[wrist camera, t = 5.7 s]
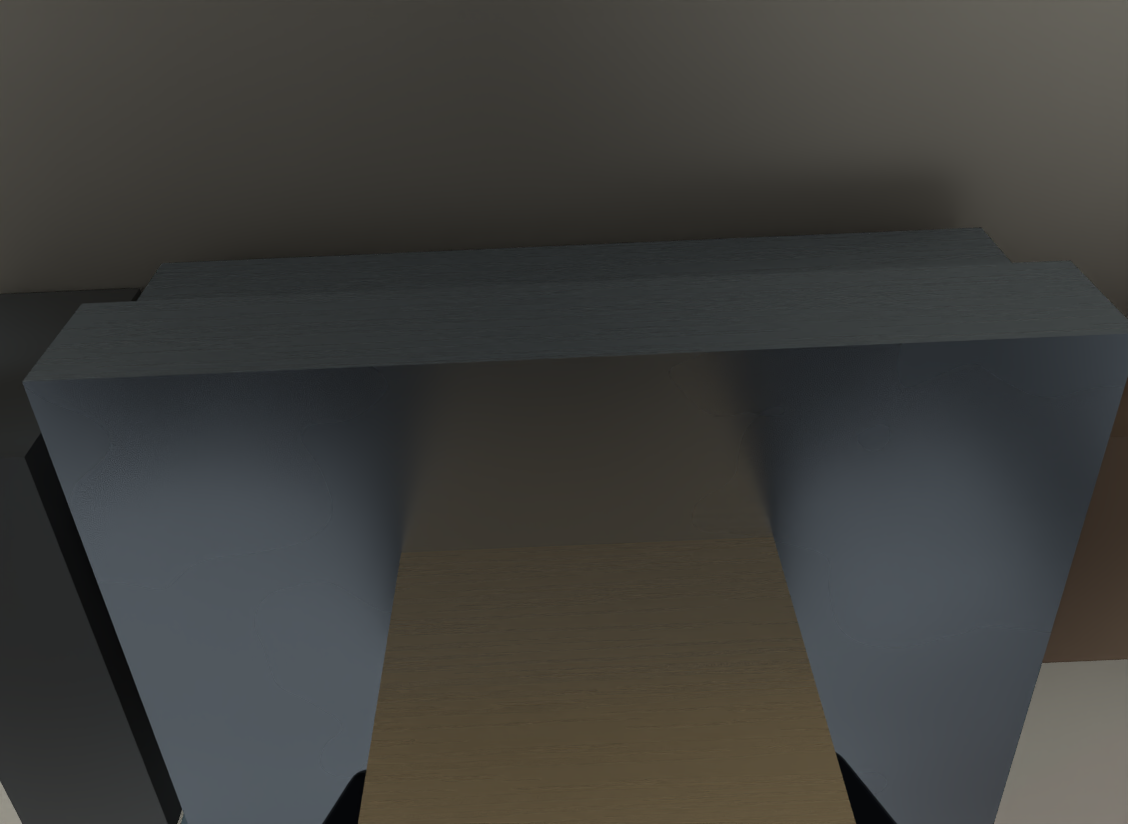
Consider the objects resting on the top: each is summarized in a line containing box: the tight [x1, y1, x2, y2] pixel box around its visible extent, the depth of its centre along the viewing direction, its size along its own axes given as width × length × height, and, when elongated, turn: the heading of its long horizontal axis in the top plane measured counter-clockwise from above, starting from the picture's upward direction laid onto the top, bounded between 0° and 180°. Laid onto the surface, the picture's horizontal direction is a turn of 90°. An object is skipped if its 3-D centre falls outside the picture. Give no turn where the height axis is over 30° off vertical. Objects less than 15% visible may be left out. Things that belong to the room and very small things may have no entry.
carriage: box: [22, 228, 1128, 824], centre depth 9 cm, size 8×7×8 cm
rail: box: [0, 288, 1128, 824], centre depth 11 cm, size 22×5×3 cm, turn 92°
